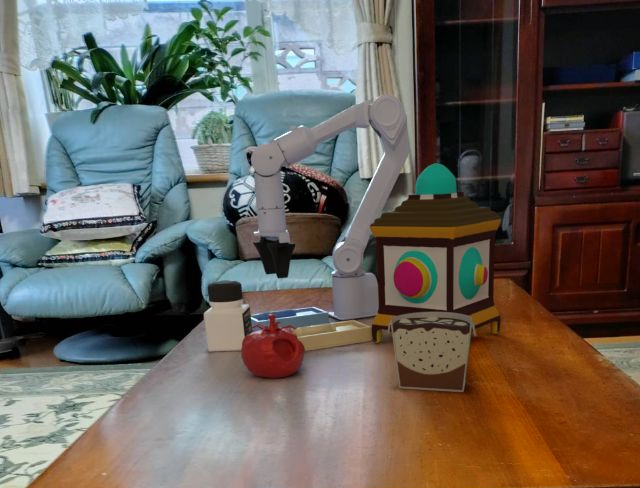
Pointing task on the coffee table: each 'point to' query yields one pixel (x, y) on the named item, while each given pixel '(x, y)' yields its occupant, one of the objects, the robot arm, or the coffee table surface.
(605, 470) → the coffee table surface
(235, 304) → the medicine bottle
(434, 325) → the food container
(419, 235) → the decorative lantern
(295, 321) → the blue bin
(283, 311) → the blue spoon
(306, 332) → the pale yellow bar
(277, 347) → the pomegranate
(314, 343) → the cream bin
